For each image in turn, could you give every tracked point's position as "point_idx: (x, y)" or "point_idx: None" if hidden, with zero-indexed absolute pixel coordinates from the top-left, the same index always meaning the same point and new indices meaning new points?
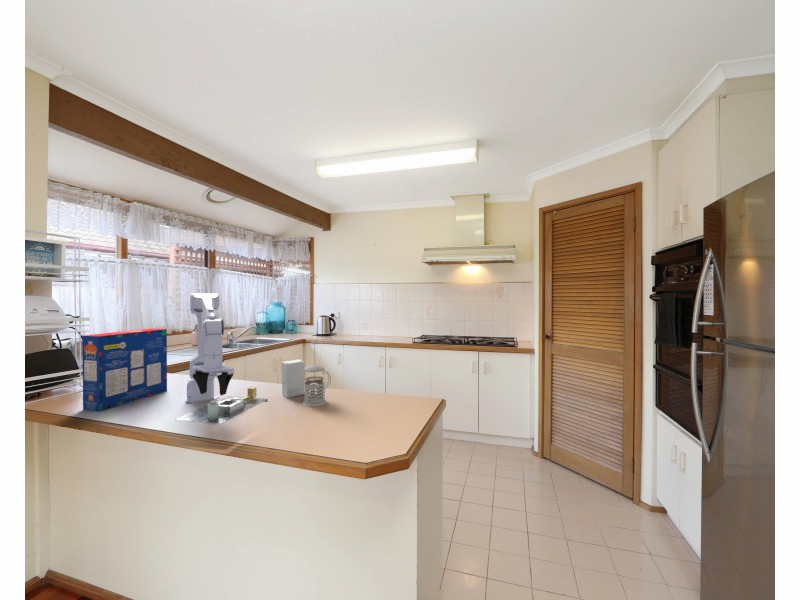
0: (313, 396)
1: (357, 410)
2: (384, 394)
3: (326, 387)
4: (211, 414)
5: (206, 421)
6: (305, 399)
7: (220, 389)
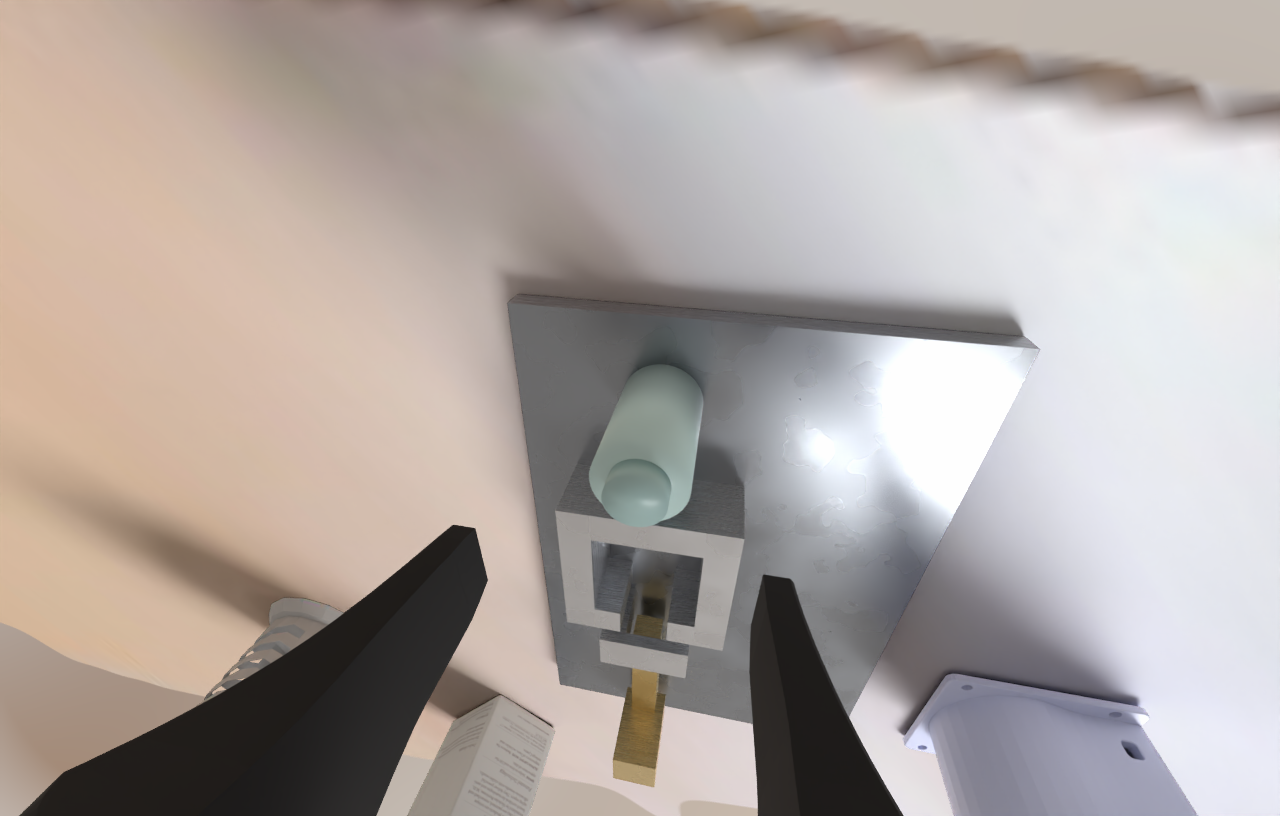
0: (256, 652)
1: (78, 549)
2: (168, 684)
3: None
4: (641, 390)
5: (668, 329)
6: None
7: (403, 584)
